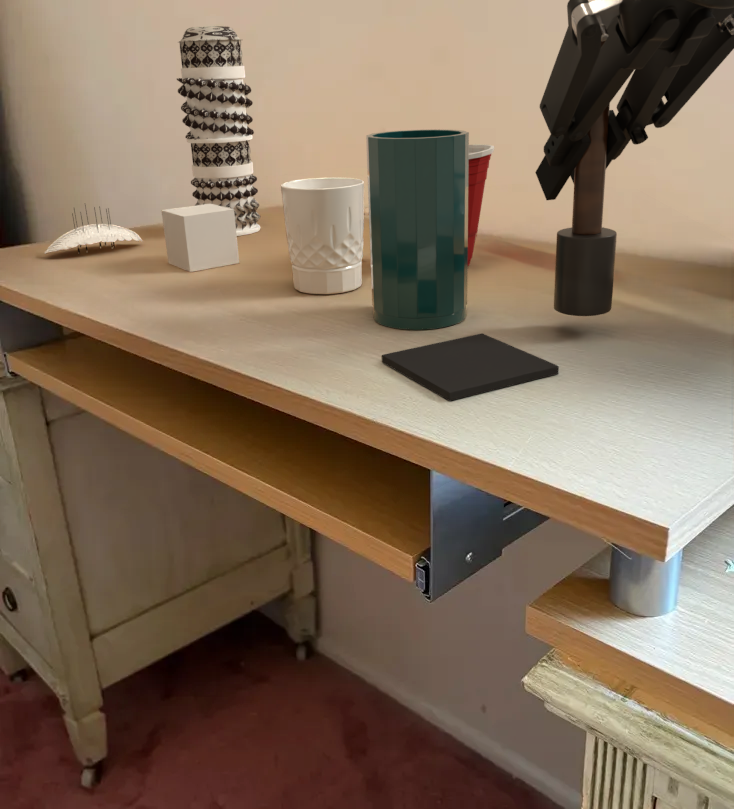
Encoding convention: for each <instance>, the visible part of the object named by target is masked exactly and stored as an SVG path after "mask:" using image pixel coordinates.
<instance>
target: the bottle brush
mask: <svg viewBox="0 0 734 809" xmlns="http://www.w3.org/2000/svg"><path fill="white" fill-rule="evenodd" d="M612 21H613V20H612ZM610 24H611V23H610ZM604 42H605V41H603V42H601V47H602V45H603V44H604ZM610 106H611V102H610V103H609V105H608V106H607V107H606V109H605V110H604V111H603V113H602V114H601V115H600V117H599V118H598V119H597V121H596V122H595V123H594V125H593V126H592V127H591V129H590V130H589V131H588V133H587V134H588V136H589V138H590V140H591V144H590V145H589V147H588V148H587V150H586V152H585V153H584V155H583V156H582V158H581V159H580V161H579V162H578V164H577V165H576V167H575V176H574V183H573V198H572V199H573V201H572V219H571V227H567V228H562V229H559V230H558V231H557V232H556V244H555V245H556V246H555V247H556V248H555V269H554V270H555V271H554V291H553V292H554V293H553V309H554V311H556V312H557V313H560V314H563V315H568V316H574V317H594V316H595V317H596V316H600V315H605V314H607V313H610V312H611V311H612V307H613V293H614V277H615V264H616V263H615V262H616V251H617V250H616V248H617V238H618V237H617V231H616V230H614V229H612V228H607V227H603V220H604V219H603V217H604V216H603V215H604V203H605V202H604V200H605V199H604V198H605V186H606V185H605V184H606V172H607V171H606V170H607V168H606V156H607V140H608V124H609V110H611V109H610Z"/></svg>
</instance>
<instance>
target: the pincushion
mask: <svg viewBox="0 0 734 809" xmlns="http://www.w3.org/2000/svg"><path fill="white" fill-rule="evenodd" d="M86 205H87V204H84V207H85V209H87V206H86ZM93 207H94V208H93V210H94V211H96V207H95V206H93ZM98 208H99V209H101V206H99V207H98ZM73 211H74V213H76V211H75V208H73ZM87 212H88V210H85V213H86V215H88V213H87ZM105 212H106V213H110V208H109V207H107V208H105ZM71 213H72V212H71ZM74 213H72V214H71V215H72V216H71V217H72V221H73V222H75V223H73V227H74V228H73V229H71V230H68V232H65V233H63V234H62V235H61V236H58V238H56V239H55V240H53V242H52V243H51V244H50V245H49V246H48V247H47V249H45V251H44V252H43V253H44V254H49V253H53V252H54V253H55V252H59V251H65V250H67V251H68V250H70V249H74V248H77V252H78V254H81V252H80V248H82V246H85V251H86V253H89V249H88V246H87V245H94V244H98V243H99V248H100V249H102V243H104V246H107V243H111V244H110V247H111V249H112V250H113V249H115V248H116V245H115V242H116V241H119V242H124V241H127V242H131V241H132V240H133V241H135V242H142V243H144V240H143V239H142V238H141V237H140V235H139V234H138V233H136V232H135V231H134V230H131V229H129V228H127V227H123V226H119V225H115V224H112V222H111V220H107V223H98V219H97V218H95V222H96V223H91V224H89V222H87V224H86V225H84V224H83V221H81V224H82V226H79V227H78V226H75V225H78V221H77V220H75V219H77V215H76V214H74ZM79 213H80V214H82V211H79ZM99 213H100V215H102V212H101V210H99ZM94 215H95V217H97V214H96V212H94ZM82 216H83V215H80V219H81V220H83V217H82ZM74 217H75V218H74ZM106 218H107V219H111V216H110V214H106ZM86 219H87V221H89V218H88V216H86ZM100 221H103V218H102V216H100Z"/></svg>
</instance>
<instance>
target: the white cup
mask: <svg viewBox="0 0 734 809" xmlns="http://www.w3.org/2000/svg"><path fill="white" fill-rule="evenodd" d="M280 191H281V198H282V208H283V217H284V224H285V234H286V242H287V249H288V256H289V260H290V263H291V272H292V280H293V288H294V289H295V290H296V291H298V292H300V293H304V294H310V295H334V294H343V293H347V292H352V291H355V290H357V289H359V288H360V287H361V286H362V283H363V281H362V280H363V279H362V278H363V274H362V270H363V269H362V267H363V265H362V264H363V261H362V260H363V258H364V240H365V239H364V231H365V181H364V180H363V179H361V178H356V177H345V176H344V177H343V176H342V177H341V176H339V177H338V176H334V177H333V176H329V177H328V176H327V177H310V178H300V179H293V180H289V181H286V182H283V183H281V184H280Z"/></svg>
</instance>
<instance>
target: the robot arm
mask: <svg viewBox="0 0 734 809" xmlns="http://www.w3.org/2000/svg"><path fill="white" fill-rule="evenodd" d="M566 9H567V10H566V11H567V28H566V31H565V34H564V36H563V40H562V41H561V44H560V48H559V51H558V54H557V55H556V58H555V60H554V61H555V62H554V64H553V67H552V69H551V73H550V75H549V78H548V81H547V85H546V87H545V89H544V92H543V94H542V97H541V100H540V103H539V109H540V112H541V114H542V117H543V120H544V122H545V124H546V127H547V128H548V132H549V133H550V135H549V137H548V138H547V140H546V142H545V144H544V146H543V153H544V156H543V158H542V160H541V162H540V164H539V165H538V167H537V169H536V171H534V172H535V176H536V177H537V180H538V183H539V185H540V188H541V190H542V192H543V195H544V197H545V199H546V201H554V200H556V199H557V198H558V196H559V194H560V193H561V191H562V189H563V188H564V186H565V185H566V184H567V182H568V180H569V178H571V181H572V183H573V184H574V176H575V167H576V165H577V164H578V162H579V161H580V159H581V158H582V156H583V155H584V153H585V152H586V150H587V148H588V147H589V145H590V144H591V140H590V138H589V136H588V134H587V133H588V131H589V130H590V129H591V127H592V126H593V125H594V123H595V122H596V121H597V119H598V118H599V117H600V115H601V114H602V113H603V111H604V110H605V109H606V107H607V106H608V105H609V103H610V104H611V102H612V101H613V99H614V98H615V97H616V95H618V93H619V91H620V90H621V89H622V87H623V86H624V84H626V82H627V80H628V79H629V81H628V83H627V85H626V87H625V88H624V91H623V93H622V95H621V97H620V98H619V100H618V102H617V104H616V108H615V109H616V110H617V114H615V111H614V109H609V124H608V140H607V156H606V169H608V167H609V166H610V164H611V163H612V161H615V160H617V158H619V157H620V156H621V155H622V153H623V152H624V150H625V149H626V147H627V146H628V145H629V143H630V142H632V144H633V145H640V144H643V143H644V142H646V141H647V140H648V139H649V136H648V134H647V131H646V128H647V127H648V126H651V125H653V126H654V127H655V128H656V129H661V128H663V127H665V126H667V125H668V124H669V123H670V122H671V121H672V120H673V119H674V118H675V116H677V114H678V113H679V112H680V111H681V110H682V109H683V107H685V105H686V104H687V103H688V102H689V100H690V99H691V98H692V97H693V96H694V95H695V94H696V93H697V91H698V90H699V89H700V88H702V86H703V85H704V83H705V82H706V81H707V80H708V79H709V78H710V77H711V75H713V73H714V72H715V71H716V70H717V68H718V67H719V66H721V64H722V63H723V62H724V61H725V60H726V59H727V57H728V56H729V55H730V54H731V53H732V51H734V0H591V1H589V0H568V2H567V4H566ZM612 20H613V21H612ZM610 23H611V24H610ZM603 41H605V42H604V44H603V45H602V47H601V42H603ZM663 97H664V98H665V100H666V101H665V102H664V100H663Z"/></svg>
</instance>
